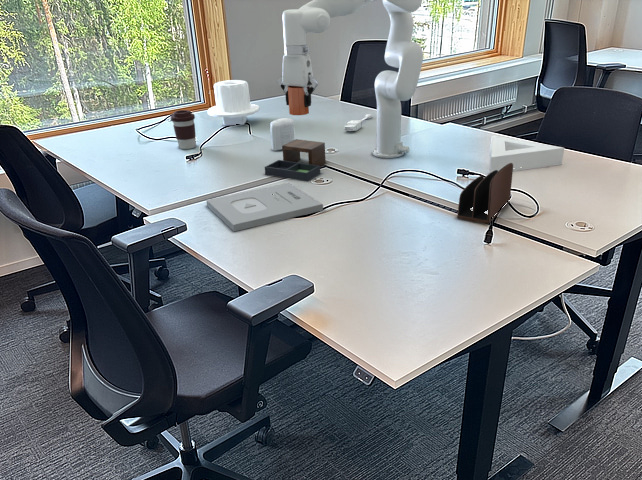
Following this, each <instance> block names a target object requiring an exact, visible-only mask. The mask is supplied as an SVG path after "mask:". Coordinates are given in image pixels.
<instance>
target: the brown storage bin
mask: <svg viewBox="0 0 642 480" xmlns="http://www.w3.org/2000/svg"><path fill="white" fill-rule="evenodd" d="M294 139H295V140H293V141H291V142H289V143H287V144H285V145H283V146H282V149H281V150H282V160H283V161H290V162H297V163H298V162H300V160H301V153H306V154H307V157H308V164H311V165H318V166H320V167H321V166H323V165H325V164H326V142H325V141H324V142H322V141H314V140H307V139H298V138H294Z"/></svg>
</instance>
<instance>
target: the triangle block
mask: <svg viewBox="0 0 642 480" xmlns="http://www.w3.org/2000/svg"><path fill="white" fill-rule="evenodd" d="M564 153H565V147H563V146H557V145H551V144H545V143H539V142H535V141H529V140H523V139H518V138H517V139H516V138H511V137H506V136H499V135H494V134H491V137H490V145H489V174H490V173H491V172H493V171H495V170H498V171H499V170H500V169H502V168H503V167H504V166H506V165H507V164H509V163H512V164H513V168H515V169H513V172H519V171H525V170H533V169H541V168H548V167H556V166H562V165H563V159H564ZM520 167H522V168H520Z"/></svg>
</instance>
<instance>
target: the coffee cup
mask: <svg viewBox="0 0 642 480" xmlns="http://www.w3.org/2000/svg"><path fill="white" fill-rule="evenodd" d="M195 119H196V115H195V114H194V113H192V112H191V111H190V110H188V109H181V110H176V111H174V112H173V114H172V115H170V121H171V122H172V127H173V130H174V131H173V132H174V135H175V138H176V140H177V145H178V148H179V149H180V150H191V149H194V148H196V147H197V142H196V138H197V137H196V135H197V134H196V123H195Z"/></svg>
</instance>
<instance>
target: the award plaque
mask: <svg viewBox="0 0 642 480" xmlns="http://www.w3.org/2000/svg"><path fill="white" fill-rule="evenodd" d="M271 194H274V195H271ZM205 201H206V202H205V203H206V207H207V208H208V209H210V211H211V212H212V213H214V214H215V215H216V216H217V217H218V218H219V219H220V220H221V221H222V222H223V223H224V224H225V225H227V227H229V228H230V229H231V230H232V231H233V232H238V231H242V230H247V229H250V228H256V227H258V226H263V225H267V224H272V223H276V222H279V221H280V222H281V221H284V220H285V221H286V220H288V219H292V218H296V217H300V216H305V215H309V214H313V213H314V214H315V213H318V212H322V211H324V203H322V202H320V201H319V200H317V199H315V198H314V197H313V196H311V195H309V194H308V193H306V192H305V191H303V190H302V189H300V188H298V187H297V186H295V185H293V184H292V183H291V182H284V183H280V184H275V185H271V186H266V187H261V188H257V189H252V190H247V191H246V190H245V191H242V192H238V193H233V194H227V195H223V196H219V197H214V198H209V199H206V200H205Z"/></svg>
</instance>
